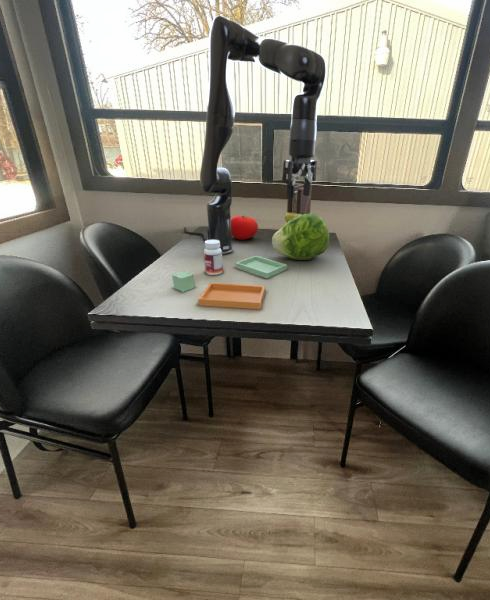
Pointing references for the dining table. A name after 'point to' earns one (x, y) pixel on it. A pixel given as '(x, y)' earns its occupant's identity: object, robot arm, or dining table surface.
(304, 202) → the book
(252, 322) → the dining table surface
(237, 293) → the amber tray
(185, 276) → the sage block
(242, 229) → the tomato
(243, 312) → the dining table surface
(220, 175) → the robot arm
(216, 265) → the pill bottle
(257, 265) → the sage tray
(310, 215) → the lettuce
